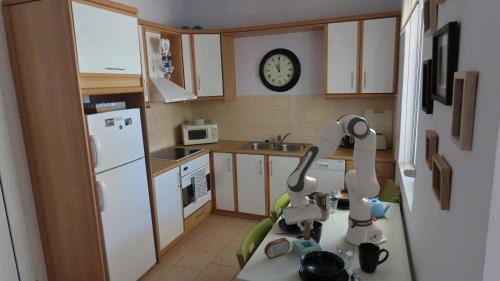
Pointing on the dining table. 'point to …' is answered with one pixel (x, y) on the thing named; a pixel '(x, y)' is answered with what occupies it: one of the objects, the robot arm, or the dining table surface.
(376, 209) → the teapot
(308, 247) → the teal square-hole block
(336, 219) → the dining table surface
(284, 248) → the tin
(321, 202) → the coffee box
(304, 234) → the walnut dowel
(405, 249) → the dining table surface
